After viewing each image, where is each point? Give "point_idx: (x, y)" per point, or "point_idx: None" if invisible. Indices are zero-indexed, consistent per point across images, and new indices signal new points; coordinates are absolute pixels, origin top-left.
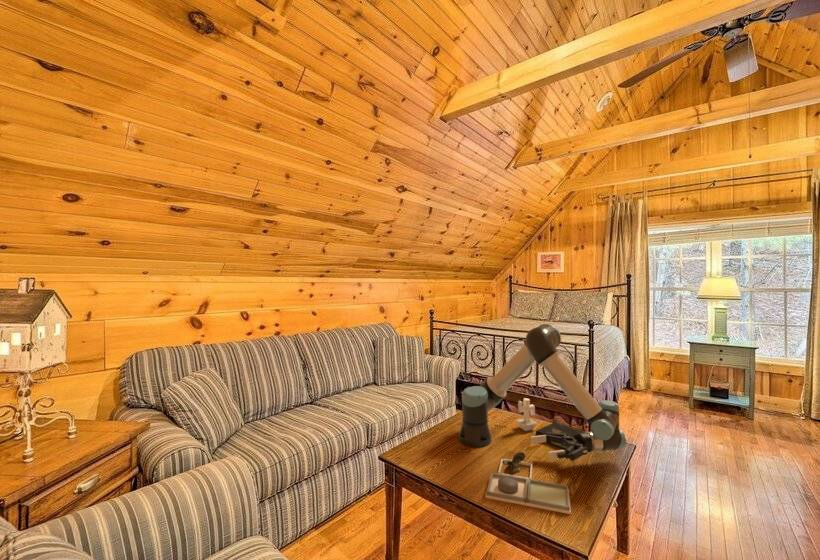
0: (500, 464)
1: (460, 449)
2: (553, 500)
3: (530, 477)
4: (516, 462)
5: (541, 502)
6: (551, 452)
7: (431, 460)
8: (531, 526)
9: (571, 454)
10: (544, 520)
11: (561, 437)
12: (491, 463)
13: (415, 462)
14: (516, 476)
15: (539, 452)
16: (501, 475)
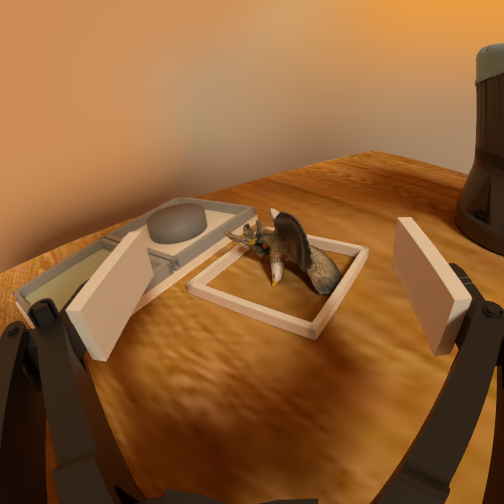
0: (320, 237)
1: (428, 202)
2: (61, 288)
3: (196, 285)
4: (284, 247)
5: (72, 255)
6: (122, 241)
7: (360, 172)
8: (66, 244)
9: (11, 324)
10: (55, 263)
11: (422, 473)
12: (347, 234)
13: (351, 163)
14: (224, 255)
15: (479, 420)
16: (231, 219)
